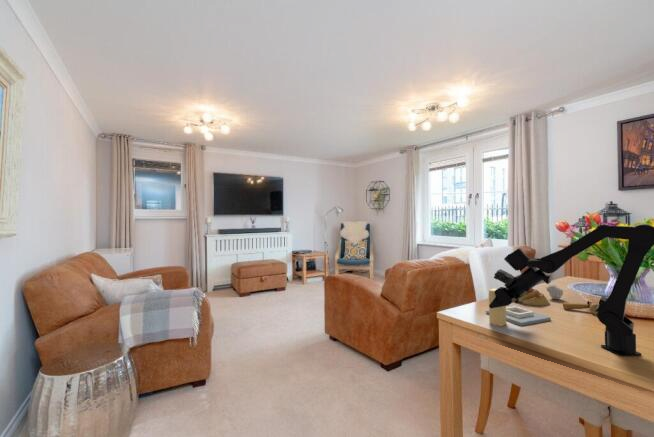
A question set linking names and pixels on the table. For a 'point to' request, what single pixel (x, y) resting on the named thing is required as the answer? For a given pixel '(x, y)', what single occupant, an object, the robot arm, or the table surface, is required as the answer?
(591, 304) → the kendama
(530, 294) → the pastry
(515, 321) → the baseplate
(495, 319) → the pillar
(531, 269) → the robot arm
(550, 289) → the frog figurine
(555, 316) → the table surface
